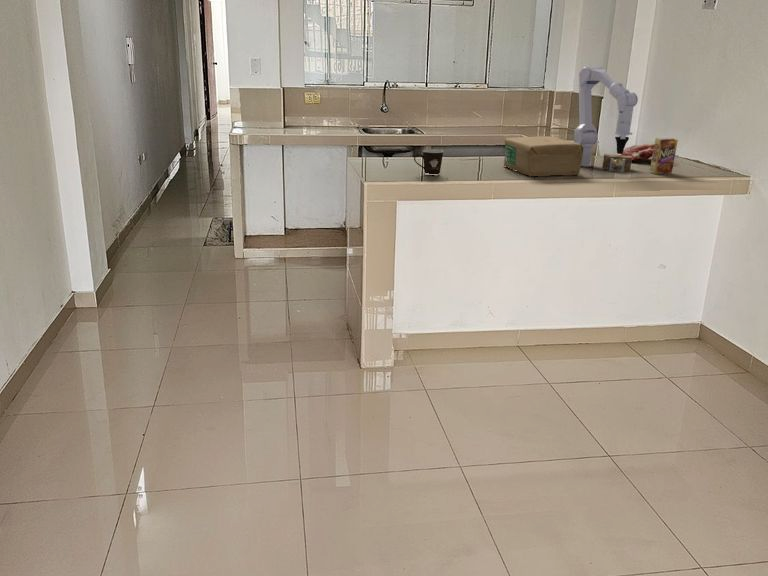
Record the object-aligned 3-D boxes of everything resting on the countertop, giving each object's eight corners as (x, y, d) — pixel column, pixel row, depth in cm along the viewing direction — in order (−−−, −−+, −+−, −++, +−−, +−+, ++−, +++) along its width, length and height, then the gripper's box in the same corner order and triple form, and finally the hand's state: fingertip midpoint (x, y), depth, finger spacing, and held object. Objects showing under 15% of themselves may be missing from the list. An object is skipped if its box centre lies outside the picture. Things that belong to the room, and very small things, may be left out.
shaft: (611, 170, 302) (612, 159, 300) (610, 166, 311) (611, 156, 309) (622, 170, 301) (623, 160, 299) (621, 167, 310) (622, 156, 308)
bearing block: (602, 169, 307) (604, 156, 305) (602, 167, 312) (604, 154, 310) (630, 171, 304) (632, 157, 302) (629, 168, 309) (631, 155, 307)
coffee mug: (444, 173, 289) (445, 150, 286) (439, 177, 282) (440, 153, 278) (418, 171, 293) (419, 148, 289) (412, 175, 285) (413, 151, 282)
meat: (621, 163, 324) (624, 142, 320) (619, 156, 343) (622, 137, 339) (667, 166, 318) (671, 145, 315) (663, 159, 338) (666, 139, 334)
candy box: (654, 174, 298) (660, 139, 292) (649, 172, 301) (654, 138, 296) (672, 173, 299) (678, 139, 294) (666, 172, 303) (672, 137, 298)
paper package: (500, 167, 309) (502, 136, 304) (550, 165, 316) (553, 135, 311) (527, 178, 284) (530, 145, 280) (581, 176, 291) (585, 143, 286)
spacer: (609, 170, 304) (610, 158, 302) (609, 170, 306) (610, 158, 304) (623, 171, 302) (625, 159, 301) (623, 171, 304) (625, 159, 302)
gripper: (635, 124, 282) (630, 156, 287) (633, 120, 295) (628, 151, 300) (617, 123, 284) (612, 155, 288) (616, 119, 297) (611, 150, 301)
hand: (619, 153), depth 294 cm, fingers closed
